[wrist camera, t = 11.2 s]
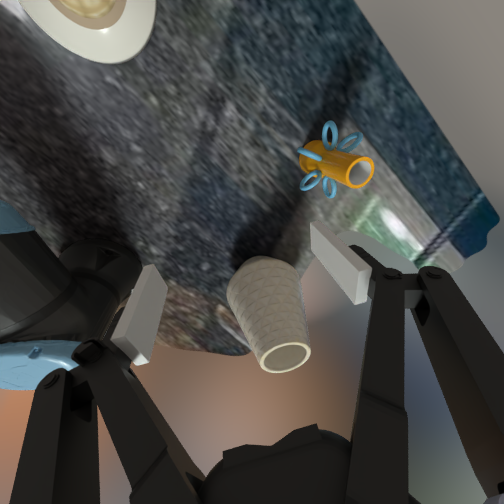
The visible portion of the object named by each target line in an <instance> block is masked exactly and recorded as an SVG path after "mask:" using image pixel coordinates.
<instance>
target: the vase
mask: <svg viewBox="0 0 504 504" xmlns="http://www.w3.org/2000/svg"><path fill="white" fill-rule="evenodd" d="M227 300H228V302H229V304H230V306H231V308H232V310H233V312H234V314H235V316H236V318H237V320H238V322H239V324H240V326H241V328H242V330H243V332H244V334H245V336H246V338H247V340H248V342H249V344H250V346H251V348H252V350H253V352H254V354H255V356H256V358H257V360H258V362H259V364H260V366H261V367H262V369H264V370H265V371H267V372H272V373H282V372H287V371H290V370H293V369H295V368H297V367H299V366H301V365H302V364H303V363H305V362H306V361H307V360H308V358H309V356H310V354H311V349H310V342H309V335H308V329H307V322H306V315H305V308H304V302H303V294H302V287H301V281H300V277H299V274H298V273H297V271H296V270H295V268H293V267H292V266H291V265H290V264H288V263H287V262H284V261H282V260H278V259H275V258H271V257H268V256H255V257H252V258H250V259H248V260H246V261H245V262H244V263H243V264H242V265H241V266H240V268H239V269H238V270H237V271H236V273H235V274H234V275H233V276H232V278H231V279H230V281H229V284H228V287H227Z"/></svg>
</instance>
